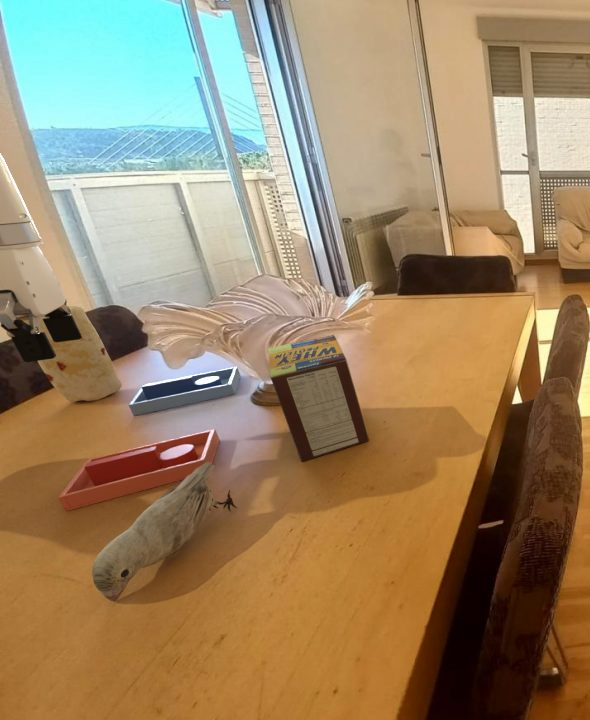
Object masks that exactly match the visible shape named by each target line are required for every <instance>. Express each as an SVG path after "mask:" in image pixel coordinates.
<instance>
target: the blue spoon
mask: <svg viewBox="0 0 590 720" xmlns="http://www.w3.org/2000/svg"><path fill="white" fill-rule="evenodd" d="M193 375H194V374H193ZM193 375H187V376H182V377H177V378H171V379H165V380H161V381H156V382H149V383H145V384H143V385H142V386H141V388H142V390H143V392H144V394H145V396H146V398H147V400H151V399H156V398H161V397H166V396H171V395H176V394H181V393H186V392H191V391H195V390H200V389H205V388H210V387H215V386H220V385H222V383H221V380H220V378H219V377H218V376H211V377H206V378H202V379H199V380H197V381H195V380H194V377H193ZM141 388H140V389H141Z"/></svg>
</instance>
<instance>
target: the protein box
mask: <svg viewBox="0 0 590 720" xmlns="http://www.w3.org/2000/svg"><path fill="white" fill-rule="evenodd" d="M267 355H268V367H269V376H270V381H271V383H272V385H273V388H274V391H275V393H276V396H277V398H278V402H279V404H280V408H281V410H282V413H283V416H284V419H285V421H286V424H287V426H288V429H289V432H290V435H291V438H292V440H293V443H294V446H295V448H296V451H297V454H298V456H299V460H300V462H306V461H309V460H312V459H315V458H318V457H322V456H324V455H328V454H331V453H334V452H337V451H340V450H345V449H347V448H349V447H353V446H357V445H359V444H362V443H365V442H369V441H370V437H369V433H368V429H367V426H366V422H365V419H364V415H363V411H362V407H361V405H360V401H359V397H358V395H357V391H356V386H355V384H354V380H353V377H352V374H351V370H350V366H349V363H348V360H347V357H346V355H345V353H344V351H343V349H342V347H341V345H340V343H339V341H338V339H337V337H336V336H335V334H331V335H327V336H323V337H317V338H313V339H307V340H302V341H297V342H293V343H287V344H282V345H276V346H272V347H268V348H267Z"/></svg>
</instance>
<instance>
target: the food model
mask: <svg viewBox="0 0 590 720" xmlns="http://www.w3.org/2000/svg"><path fill="white" fill-rule="evenodd" d="M66 306H67V307H68V308H69V309H70V310H71V315H72V316H73V318H74V320H75V323H76V325H77V327H78V329H79V331H80V333H81V335H82V338H81V339H79V340H72V341H64V342H54V341H53V339H52V337H51V335H50V333H49V331H48V329H47V327H46V325H45V323H44V321H43V319H44V318H46V317H45V316H42V317H39V327H40V332H45V334H46V336H47V338H48V340H49V342H50V344H51V346H52V348H53V350H54V352H55V354H56V357H55V358H53V359H47V360H40V361H37V363H38V365H39V366H40V368H41V370H42V371H43V373H44V375H45V377H47V379H48V381H49V382H50V383H51V385H52V386H53V388H55V389H56V390H57V392H58V393H59V394H60V395H61V396H62V397H63V398H65V400H67V401H69V402H78V401H86V402H91V401H99V400H101V399H103V398H106V397H107V396H109V395H111V394H113V393H115V392H118V391H120V390H121V388H122V386H123V384H122V381H121V380H120V378H119V376H118V374H117V370H116V368H115V366H114V363H113V361H112V359H111V357H110V356H109V353H108V352H107V349H106V348H105V347H106V346H105V345H104V343H103V341H102V339H101V337H100V335H99V334H98V332H97V330H96V328H95V327H94V325H93V324H92V322H91V320H90V319H89V317H88V316H87V315H88V314H86V312H85V309H83V308H82V307H81V306H76V305H75V306H74V305H66ZM67 316H69V315H67ZM48 318H49V317H48ZM24 322H25V323H27V324H28V325H29V320H26V321H24Z"/></svg>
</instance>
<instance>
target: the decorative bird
mask: <svg viewBox="0 0 590 720" xmlns="http://www.w3.org/2000/svg"><path fill="white" fill-rule="evenodd" d="M210 464H211V463H210V462H207V463H204V464H203V465H202V466H200V467H198V468H196V469H195V471H194V472H193V473H192V474H190V475H188V476H187V477H186V478H185V479H183V480H181V483H179V484H178V485H177V486H175V487H174V488H172V489H171V490H169V491H167V492H166V493H165V494H163V495H162V496H160V497H158V499H156V500H155V501H154V502H153V503H152V504H151V505H149V506H148V507H147V508H146V509H145V510H144V511H143V512H141V513H140V515H139V516H138V517H137V518H136V519H135V521H134V522H133V523H132V525H131V526H129V527H128V528H127V529H126V530H125V531H124V532H122V533H121V534H119V535H117V536H116V537H114V538H113V539H112V540H111V541H110V542H109V543H107V545H105V546H104V548H102V550H100V552H99V553H98V554H97V556H96V557H95V559H94V561H93V564H92V575H91V576H92V581H93V584H94V586H95V588H96V589H97V591H99V592H100V594H101V595H102V596H103V597H104V598H105V599H107V600H109V601H111V602H114V603H116V601H117V600H118V599H119V597H120V596H121V595H122V593H123V592H124V591H125V589H126V588H127V586H128V584H129V582H130V580H132V579H133V577H134V576H135V575H136V574H137V573H138V572H140V570H141V569H144V568H148V567H151V566H154V565H156V564H157V563H159V562H161V561H162V560H164V559H166V558H168V557H169V556H171V555H173V554H175V553H176V552H178V551H179V550H180V549H182V548H183V547H185V545H187V543H189V541H190V540H191V538H192V537H193V536H194V534H195V533H196V531H197V529H198V528H199V526H200V525H201V523H202V522H203V520H205V518H206V516H207V515H208V512H209V511H210V512H212V509H211V508H213V507H214V508H216V509H219V507H218V506H217V505H220V506H221V505H223V507H222V508H223V510H225V509H226V507H227V510H228V511H229V512H231V507H233V508H235V509H238V507H237V505H235V504H234V501H233V498H232V497H231V494H230V493H231V489H229V490H228V492H227V494H226V495H227V497H226V500H225V501H223V502H221V501H217V500H214V498H213V496H212V493H211V492H212V490H211V489H210V488H209V486H208V482H207V480H208V478H209V476H211V474H212V473H213V471H214V470H216V468H217V466H216V465H214V464H212V465H210Z"/></svg>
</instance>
